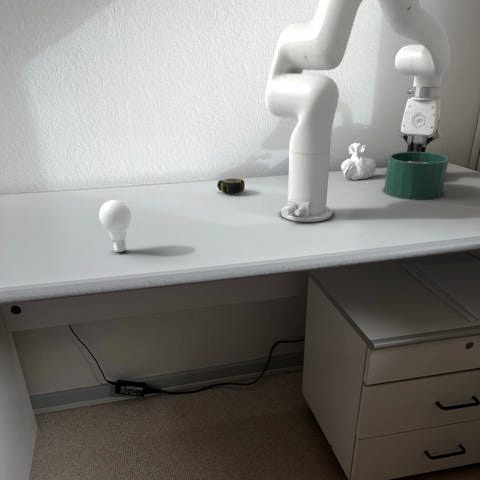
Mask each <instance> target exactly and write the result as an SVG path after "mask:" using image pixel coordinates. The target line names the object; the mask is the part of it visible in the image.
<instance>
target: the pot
mask: <svg viewBox="0 0 480 480" xmlns="http://www.w3.org/2000/svg"><path fill="white" fill-rule="evenodd" d="M387 159H388V164H387V165H386V174H385V181H384V182H385V183H384V193H386V194H388V195H389V196H392V197H395V198H400V199H406V200H432V199H436V198H440V197H441V196H442V195H443V191H444V186H445V181H446V175H447V169H448V165H449V160H450V159H449V157H448V156H447V155H444V154H439V153H434V152H426V151H425V152H407V151H401V152H394V153H391V154H389V155H388V158H387ZM407 161H416V162H425V163H413V162H407Z"/></svg>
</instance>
